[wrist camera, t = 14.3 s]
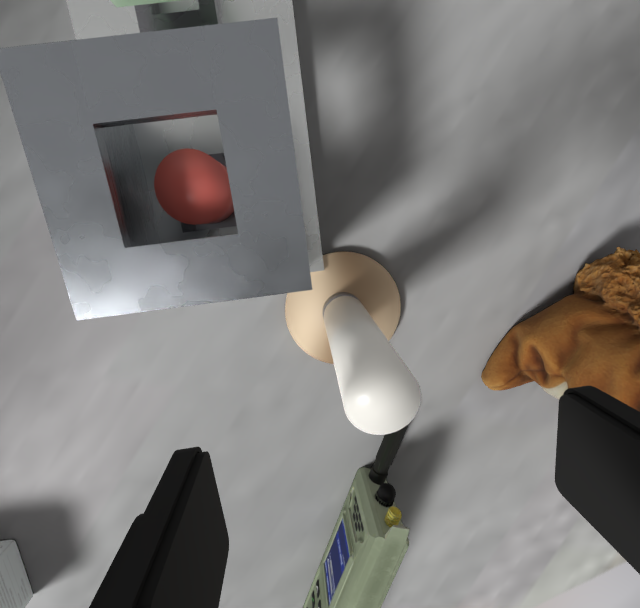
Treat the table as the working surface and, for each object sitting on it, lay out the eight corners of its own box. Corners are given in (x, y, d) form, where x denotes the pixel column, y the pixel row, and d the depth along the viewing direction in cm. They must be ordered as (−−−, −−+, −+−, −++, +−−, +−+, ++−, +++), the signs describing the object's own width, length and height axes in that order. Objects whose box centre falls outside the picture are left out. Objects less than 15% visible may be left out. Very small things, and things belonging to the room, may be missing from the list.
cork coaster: (294, 367, 26) (293, 371, 25) (277, 259, 24) (277, 260, 23) (401, 353, 26) (404, 356, 25) (394, 244, 24) (396, 244, 23)
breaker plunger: (191, 226, 21) (163, 228, 17) (179, 166, 20) (146, 153, 16) (247, 219, 21) (233, 220, 17) (237, 159, 20) (220, 144, 16)
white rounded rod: (320, 294, 24) (339, 369, 12) (360, 289, 24) (419, 358, 12) (325, 333, 24) (347, 439, 13) (364, 328, 24) (423, 429, 13)
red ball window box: (147, 290, 24) (56, 334, 15) (57, -72, 19) (-160, -331, 10) (323, 268, 24) (336, 298, 15) (280, -96, 19) (262, -366, 10)
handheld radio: (284, 636, 32) (375, 401, 27) (318, 640, 33) (414, 411, 27) (284, 742, 26) (404, 461, 20) (326, 745, 26) (454, 471, 21)
